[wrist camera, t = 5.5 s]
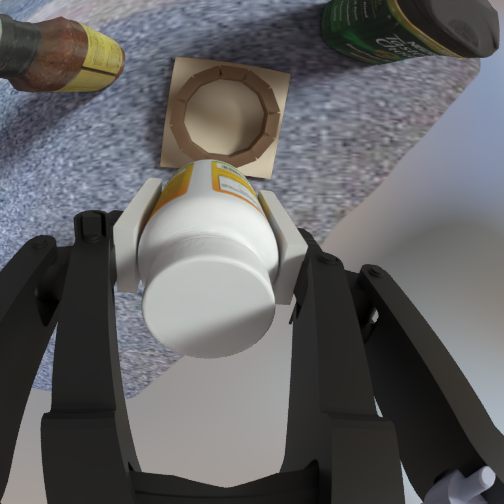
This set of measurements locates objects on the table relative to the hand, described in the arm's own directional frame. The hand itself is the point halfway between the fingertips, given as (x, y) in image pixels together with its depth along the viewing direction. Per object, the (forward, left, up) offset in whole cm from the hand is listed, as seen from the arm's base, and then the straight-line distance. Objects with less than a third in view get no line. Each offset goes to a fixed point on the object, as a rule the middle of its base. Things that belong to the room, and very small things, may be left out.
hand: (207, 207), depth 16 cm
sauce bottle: (-10, -14, -16) cm, 23 cm away
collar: (-5, +1, -16) cm, 17 cm away
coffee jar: (-19, +14, -16) cm, 28 cm away
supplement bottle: (0, 0, -1) cm, 1 cm away
